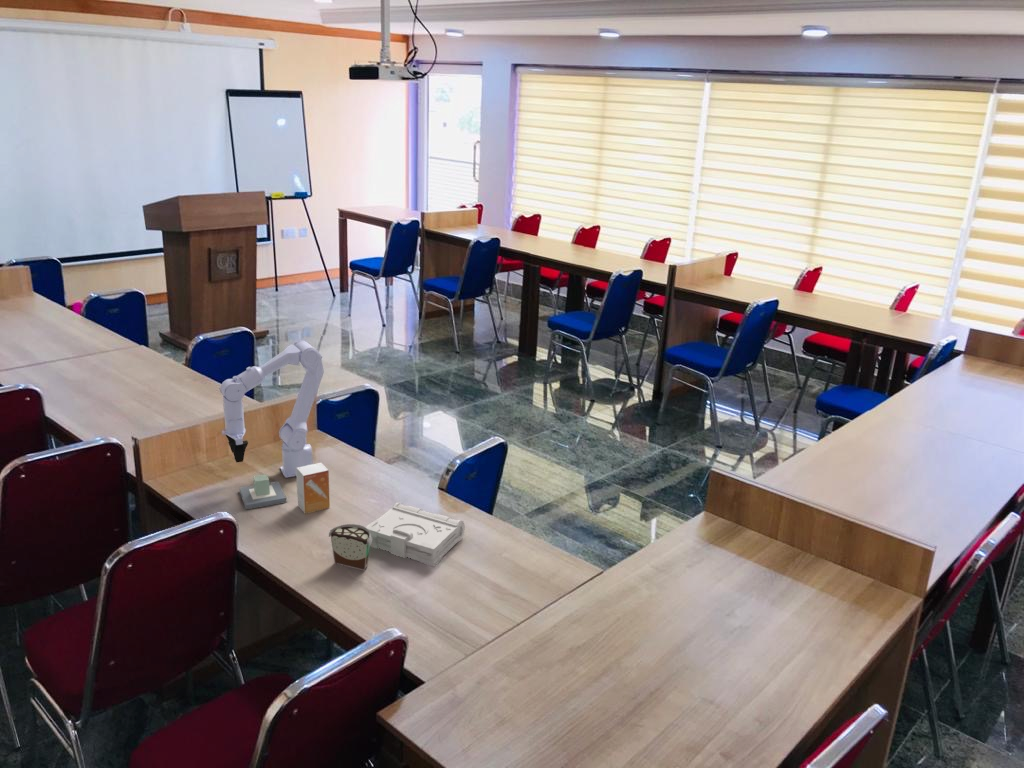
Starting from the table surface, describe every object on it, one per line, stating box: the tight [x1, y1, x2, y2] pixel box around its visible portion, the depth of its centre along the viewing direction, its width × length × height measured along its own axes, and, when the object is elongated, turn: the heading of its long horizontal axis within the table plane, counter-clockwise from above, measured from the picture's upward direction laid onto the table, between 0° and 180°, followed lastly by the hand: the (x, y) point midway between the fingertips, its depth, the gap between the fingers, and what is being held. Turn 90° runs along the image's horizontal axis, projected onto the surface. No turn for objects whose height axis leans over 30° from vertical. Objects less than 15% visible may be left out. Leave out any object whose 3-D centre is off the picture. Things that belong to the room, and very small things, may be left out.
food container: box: [328, 523, 372, 571], centre depth 228 cm, size 12×6×10 cm, turn 71°
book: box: [364, 502, 466, 567], centre depth 240 cm, size 19×28×8 cm
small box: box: [295, 462, 331, 514], centre depth 255 cm, size 8×6×13 cm
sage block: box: [252, 473, 270, 496], centre depth 260 cm, size 4×4×5 cm
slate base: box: [238, 480, 288, 510], centre depth 261 cm, size 12×12×2 cm
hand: (237, 456), depth 266 cm, fingers open, 7 cm apart
